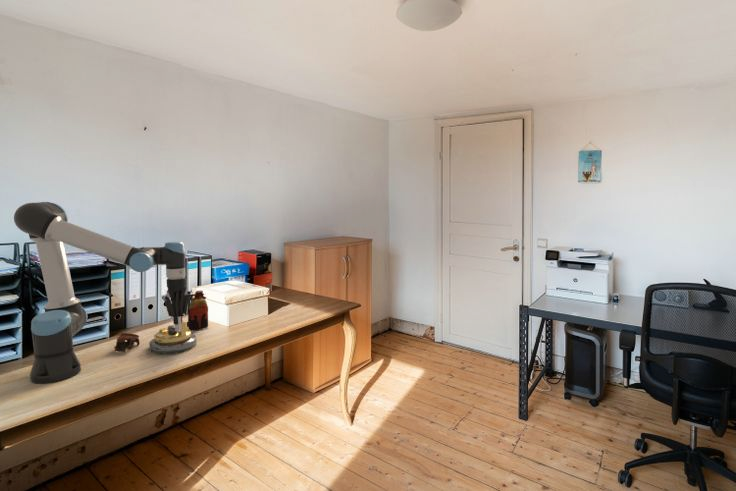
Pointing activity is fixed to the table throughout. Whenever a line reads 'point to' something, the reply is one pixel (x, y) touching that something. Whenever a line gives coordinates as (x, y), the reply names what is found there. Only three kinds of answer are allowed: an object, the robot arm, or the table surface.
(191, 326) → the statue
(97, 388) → the table surface
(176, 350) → the base
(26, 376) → the table surface
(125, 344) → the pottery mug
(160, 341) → the gold lug disc
